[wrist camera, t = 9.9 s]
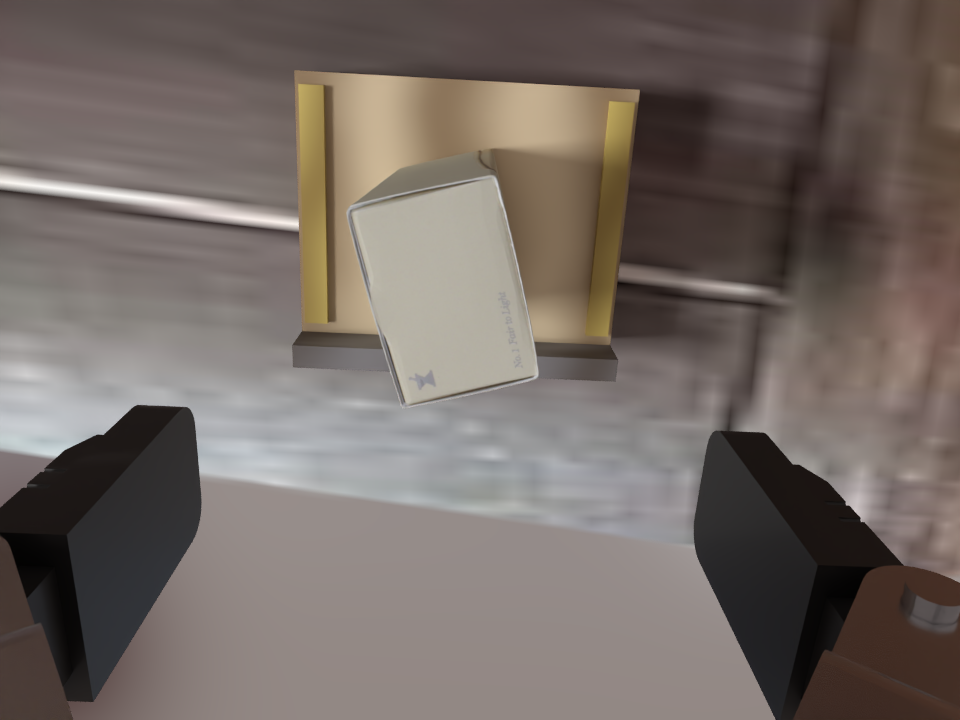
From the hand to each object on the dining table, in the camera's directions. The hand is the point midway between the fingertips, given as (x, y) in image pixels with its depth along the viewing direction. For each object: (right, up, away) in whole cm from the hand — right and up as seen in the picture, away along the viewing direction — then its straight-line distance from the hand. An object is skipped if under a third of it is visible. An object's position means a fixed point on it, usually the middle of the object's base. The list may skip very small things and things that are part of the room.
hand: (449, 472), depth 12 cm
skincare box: (-1, +8, +21) cm, 22 cm away
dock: (0, +9, +24) cm, 26 cm away
